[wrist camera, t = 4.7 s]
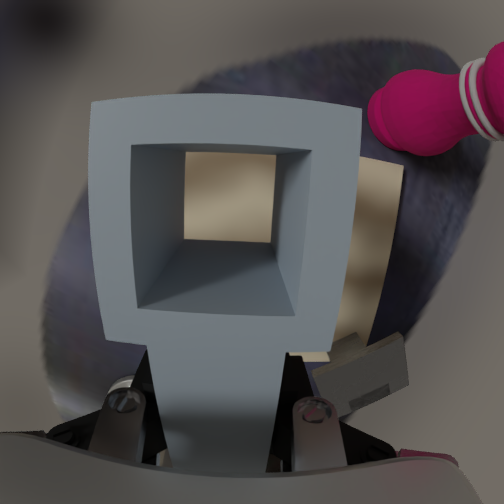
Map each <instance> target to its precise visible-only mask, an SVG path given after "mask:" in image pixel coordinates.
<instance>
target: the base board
mask: <svg viewBox="0 0 504 504" xmlns="http://www.w3.org/2000/svg"><path fill="white" fill-rule="evenodd" d="M275 168H276V155H263V154H245V153H219V152H186V161H185V196H184V239H198V240H223V241H246V242H269V243H270V241H271V227H272V213H273V198H274V183H275ZM402 175H403V166H402V165H398V164H393V163H389V162H384V161H380V160H375V159H370V158H365V157H360V158H359V171H358V183H357V193H356V202H355V211H354V220H353V228H352V235H351V242H350V249H349V256H348V262H347V269H346V275H345V281H344V286H343V292H342V297H341V303H340V308H339V313H338V318H337V323H336V327H335V332H334V337H333V341H332V342H334V341H336V340H338V339H341V338H343V337H345V336H348V335H350V334H352V333H354V332H357V334H358V335H359V337H360V338H361V340H362V342H363V343H364V345H365V346H366V345H367V342H368V339H369V335H370V332H371V329H372V325H373V322H374V318H375V315H376V311H377V307H378V303H379V300H380V296H381V292H382V288H383V283H384V279H385V275H386V270H387V266H388V261H389V257H390V252H391V247H392V241H393V236H394V231H395V225H396V219H397V213H398V206H399V199H400V192H401V184H402ZM289 354H290V355H301V356H302V358H303V361H304V362H321V361H330V360H329V358H328V355H327V353H326V352H289Z"/></svg>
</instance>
